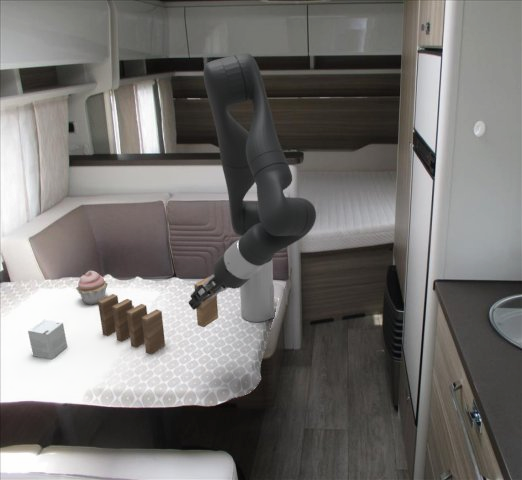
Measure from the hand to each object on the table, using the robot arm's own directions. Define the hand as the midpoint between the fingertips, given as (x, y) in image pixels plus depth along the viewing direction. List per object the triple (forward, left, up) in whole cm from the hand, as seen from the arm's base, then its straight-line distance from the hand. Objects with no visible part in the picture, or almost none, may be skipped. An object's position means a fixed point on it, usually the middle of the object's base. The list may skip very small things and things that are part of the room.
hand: (200, 300), depth 115 cm
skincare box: (+40, -13, -19) cm, 46 cm away
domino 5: (-1, +1, -5) cm, 5 cm away
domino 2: (+21, -18, -18) cm, 33 cm away
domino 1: (+25, -21, -18) cm, 38 cm away
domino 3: (+17, -14, -18) cm, 29 cm away
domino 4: (+13, -11, -18) cm, 25 cm away
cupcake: (+35, -41, -18) cm, 57 cm away
